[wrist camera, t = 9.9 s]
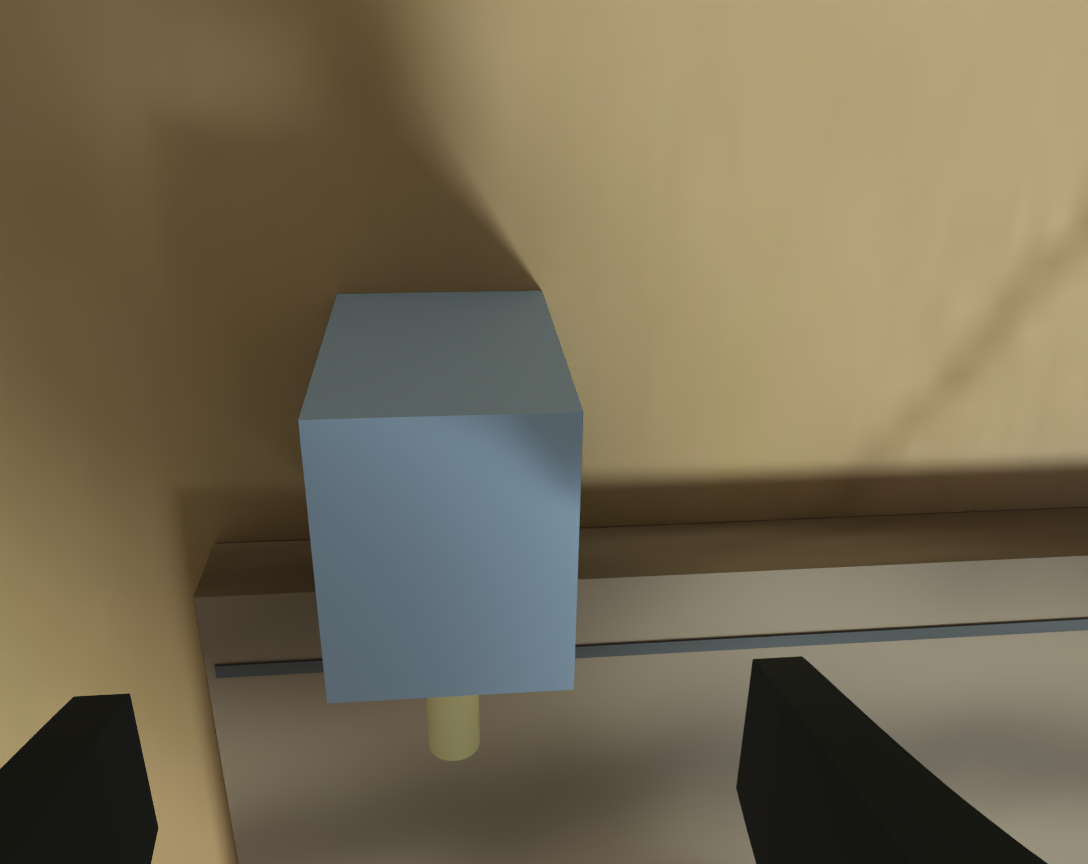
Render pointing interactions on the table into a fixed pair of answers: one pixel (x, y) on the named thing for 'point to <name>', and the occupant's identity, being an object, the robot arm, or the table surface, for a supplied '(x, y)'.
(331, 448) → the light blue block
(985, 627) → the board
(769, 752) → the robot arm
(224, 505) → the table surface
